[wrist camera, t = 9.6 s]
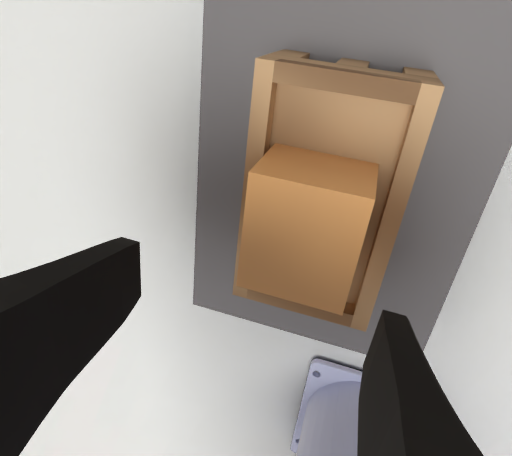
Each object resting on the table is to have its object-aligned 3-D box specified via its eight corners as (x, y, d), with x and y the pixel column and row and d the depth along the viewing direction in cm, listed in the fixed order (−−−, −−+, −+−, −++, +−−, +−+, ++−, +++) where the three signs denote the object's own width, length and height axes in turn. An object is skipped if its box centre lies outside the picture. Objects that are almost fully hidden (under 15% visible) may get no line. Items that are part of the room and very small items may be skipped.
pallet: (370, 278, 19) (365, 331, 15) (258, 249, 20) (232, 294, 16) (433, 70, 14) (444, 86, 11) (283, 49, 15) (255, 57, 12)
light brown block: (350, 264, 15) (342, 315, 13) (261, 242, 16) (236, 285, 13) (379, 164, 13) (375, 199, 11) (275, 143, 14) (248, 171, 11)
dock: (413, 329, 23) (415, 368, 20) (213, 274, 25) (193, 304, 23) (568, -63, 14) (608, -81, 11) (237, -88, 16) (208, -108, 14)
